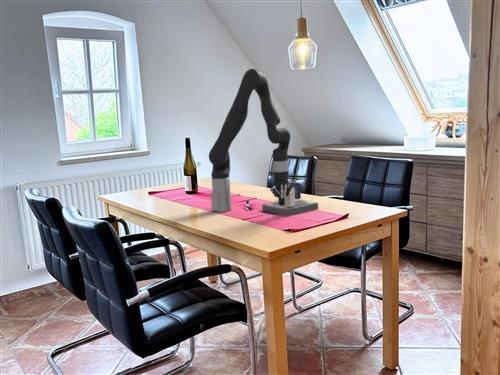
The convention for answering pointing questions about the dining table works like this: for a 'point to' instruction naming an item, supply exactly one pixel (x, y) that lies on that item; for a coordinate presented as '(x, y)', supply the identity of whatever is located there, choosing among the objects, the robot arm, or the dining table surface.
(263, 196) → the dining table surface
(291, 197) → the block
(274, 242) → the dining table surface
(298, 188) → the flask
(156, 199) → the dining table surface
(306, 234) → the dining table surface
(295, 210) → the dual slider panel
